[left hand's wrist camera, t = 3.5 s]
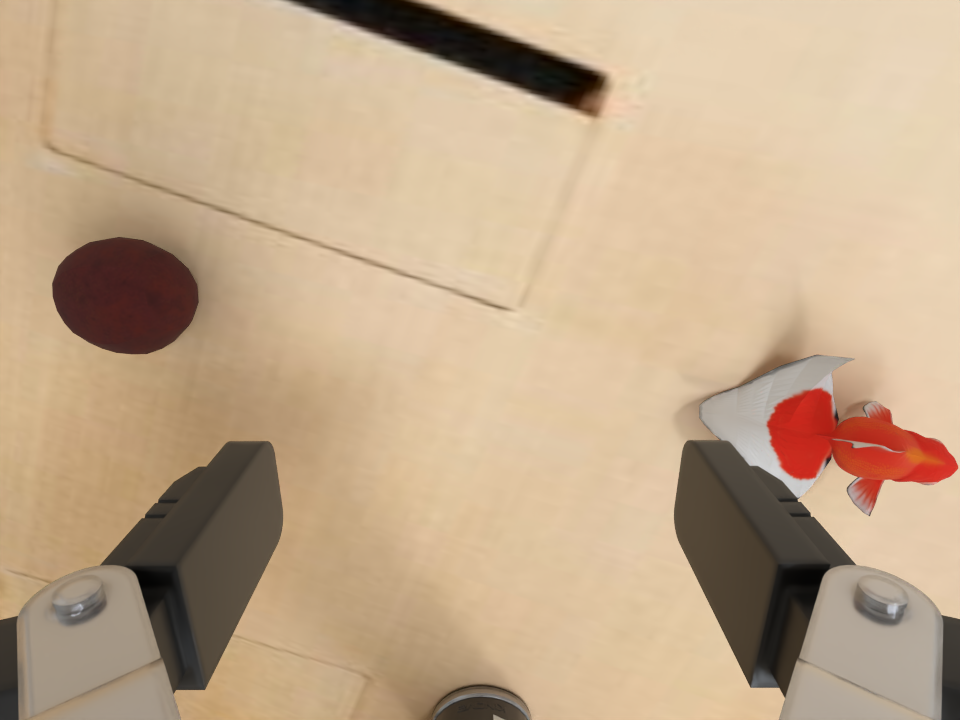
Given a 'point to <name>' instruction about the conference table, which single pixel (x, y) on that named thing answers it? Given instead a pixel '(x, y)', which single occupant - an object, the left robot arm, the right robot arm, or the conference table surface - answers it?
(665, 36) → the conference table surface
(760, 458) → the fish
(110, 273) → the potato
